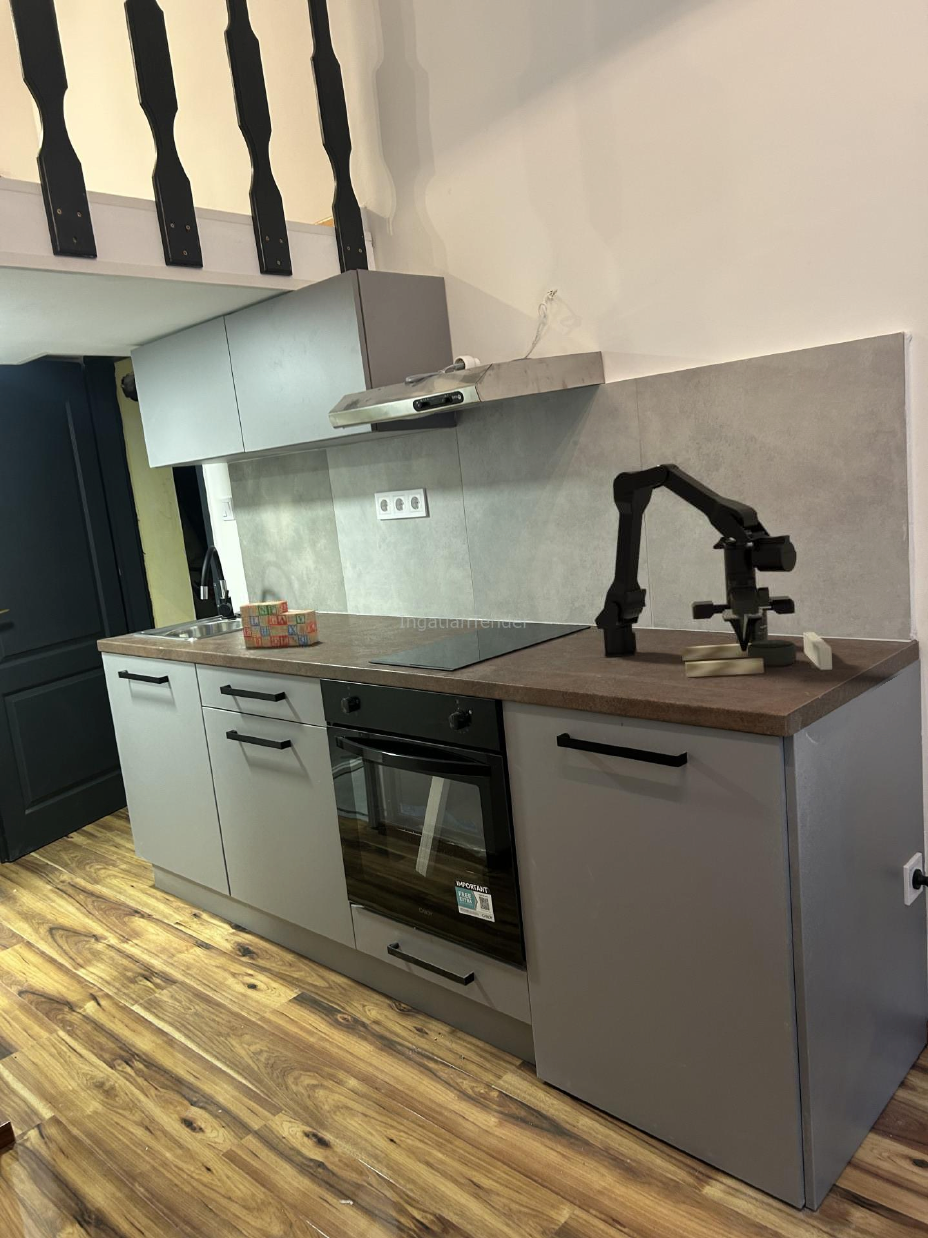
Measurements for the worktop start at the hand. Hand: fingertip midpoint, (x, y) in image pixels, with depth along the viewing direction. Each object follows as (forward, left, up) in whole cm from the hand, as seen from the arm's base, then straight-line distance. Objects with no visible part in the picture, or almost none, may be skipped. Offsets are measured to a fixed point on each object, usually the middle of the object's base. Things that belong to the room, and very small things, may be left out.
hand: (744, 651), depth 177 cm
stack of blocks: (-122, +63, -3) cm, 137 cm away
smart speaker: (+5, 0, -3) cm, 6 cm away
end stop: (+14, 0, -3) cm, 14 cm away
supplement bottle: (+4, +18, -3) cm, 19 cm away
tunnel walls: (-4, 0, -3) cm, 5 cm away
